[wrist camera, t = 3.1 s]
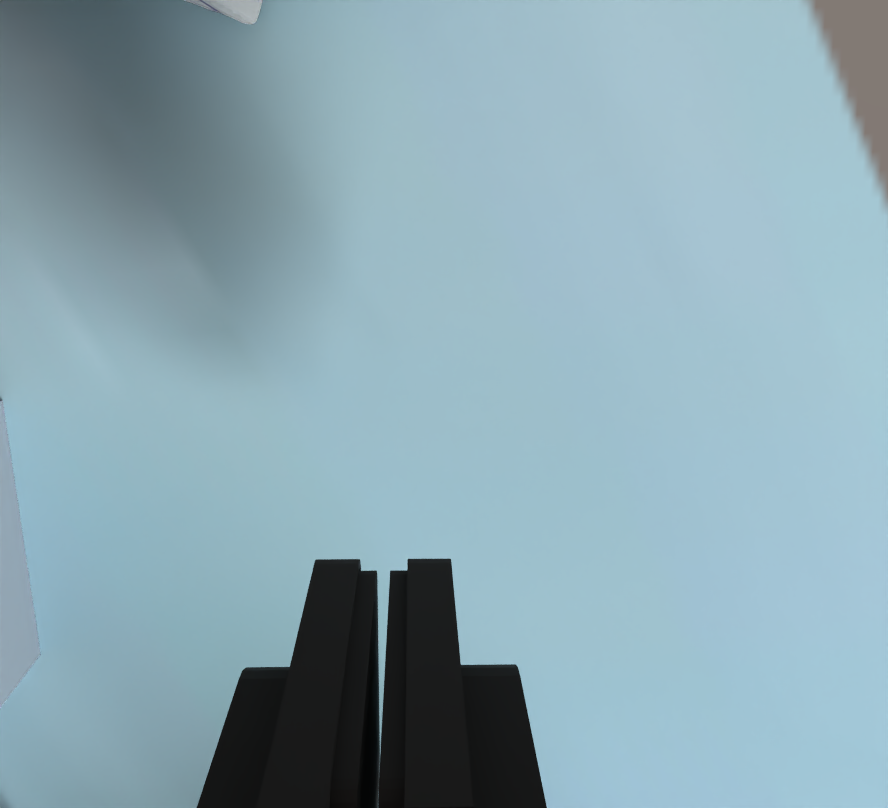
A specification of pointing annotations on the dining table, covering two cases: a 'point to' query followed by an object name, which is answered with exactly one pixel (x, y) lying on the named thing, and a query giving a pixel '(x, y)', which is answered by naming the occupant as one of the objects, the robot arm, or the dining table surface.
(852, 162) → the dining table surface
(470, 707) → the robot arm
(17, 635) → the block
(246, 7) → the medicine box
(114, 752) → the dining table surface
